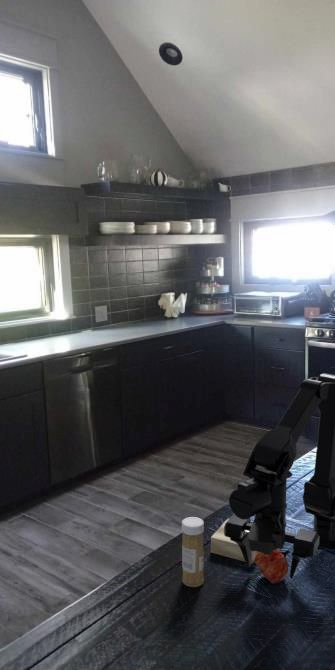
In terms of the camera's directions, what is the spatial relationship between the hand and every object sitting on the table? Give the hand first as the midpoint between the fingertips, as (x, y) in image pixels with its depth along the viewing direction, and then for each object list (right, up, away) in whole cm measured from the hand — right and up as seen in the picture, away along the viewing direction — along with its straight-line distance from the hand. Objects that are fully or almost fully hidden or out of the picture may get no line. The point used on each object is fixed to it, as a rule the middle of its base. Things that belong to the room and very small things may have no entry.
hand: (270, 572), depth 118 cm
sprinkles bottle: (-16, -2, 0) cm, 16 cm away
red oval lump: (0, -2, 0) cm, 2 cm away
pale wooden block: (-5, 0, +13) cm, 14 cm away
